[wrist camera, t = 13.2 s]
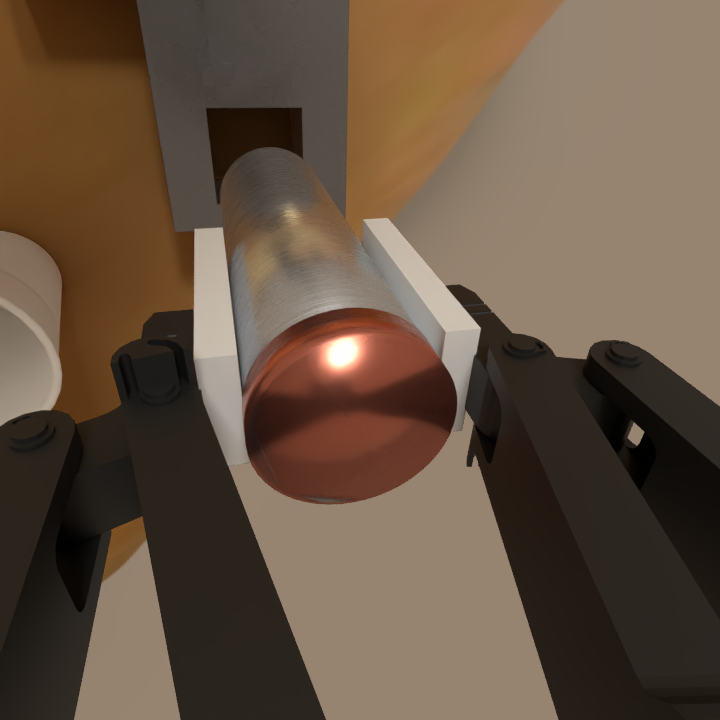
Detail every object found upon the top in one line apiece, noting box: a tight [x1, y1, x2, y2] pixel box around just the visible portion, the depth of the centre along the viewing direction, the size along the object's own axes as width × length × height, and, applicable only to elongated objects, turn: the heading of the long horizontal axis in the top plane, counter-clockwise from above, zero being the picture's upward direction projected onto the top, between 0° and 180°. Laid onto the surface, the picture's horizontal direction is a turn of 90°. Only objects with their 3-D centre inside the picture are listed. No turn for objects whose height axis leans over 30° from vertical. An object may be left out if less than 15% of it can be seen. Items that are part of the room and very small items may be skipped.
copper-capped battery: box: [220, 147, 457, 504], centre depth 16 cm, size 4×4×14 cm
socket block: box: [137, 0, 349, 232], centre depth 30 cm, size 14×10×5 cm
